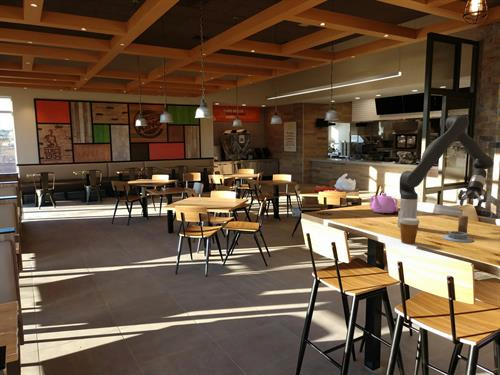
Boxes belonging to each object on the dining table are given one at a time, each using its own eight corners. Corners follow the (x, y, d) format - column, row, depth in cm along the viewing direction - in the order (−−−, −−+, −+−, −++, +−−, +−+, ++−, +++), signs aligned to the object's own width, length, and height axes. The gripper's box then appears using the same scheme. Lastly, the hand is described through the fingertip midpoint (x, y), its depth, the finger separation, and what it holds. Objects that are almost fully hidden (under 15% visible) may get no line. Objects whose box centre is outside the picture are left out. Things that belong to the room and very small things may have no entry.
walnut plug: (460, 235, 210) (461, 217, 209) (456, 233, 214) (457, 215, 213) (468, 235, 210) (469, 217, 209) (463, 233, 215) (465, 215, 213)
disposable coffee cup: (418, 245, 187) (420, 221, 186) (397, 243, 191) (399, 219, 189) (418, 241, 196) (419, 217, 195) (398, 239, 199) (399, 216, 198)
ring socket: (451, 242, 194) (451, 236, 194) (437, 235, 208) (437, 230, 208) (478, 242, 194) (479, 236, 194) (462, 235, 208) (463, 230, 208)
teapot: (359, 212, 279) (360, 193, 278) (375, 208, 294) (376, 190, 292) (388, 216, 263) (389, 196, 261) (403, 212, 277) (404, 193, 276)
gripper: (461, 179, 228) (454, 200, 221) (489, 181, 218) (483, 203, 211) (463, 187, 233) (456, 208, 226) (491, 189, 223) (484, 211, 216)
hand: (469, 206), depth 219 cm, fingers open, 8 cm apart
